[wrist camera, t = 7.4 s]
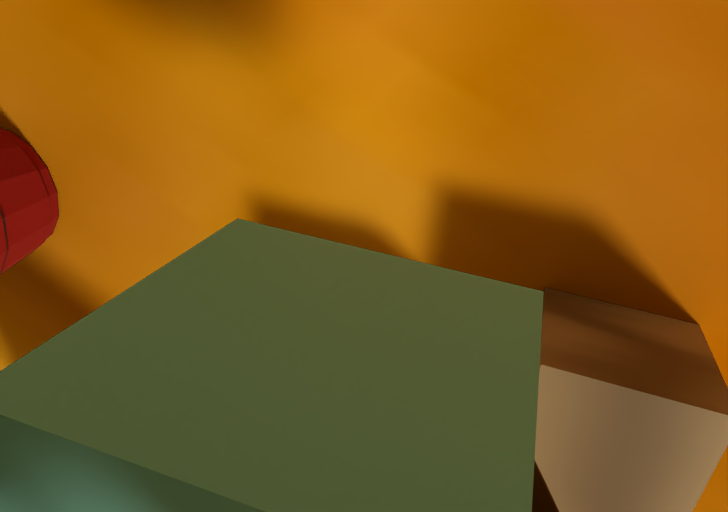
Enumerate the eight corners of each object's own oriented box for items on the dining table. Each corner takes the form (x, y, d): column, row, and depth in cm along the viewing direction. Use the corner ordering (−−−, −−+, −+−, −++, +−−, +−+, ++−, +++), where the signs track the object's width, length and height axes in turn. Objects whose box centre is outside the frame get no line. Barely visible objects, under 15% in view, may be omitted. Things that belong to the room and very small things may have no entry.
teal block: (233, 444, 12) (33, 709, 7) (237, 218, 9) (-42, 398, 5) (475, 527, 10) (415, 904, 6) (543, 291, 8) (526, 605, 4)
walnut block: (512, 398, 22) (500, 494, 18) (545, 286, 20) (541, 364, 15) (648, 437, 21) (672, 551, 16) (698, 323, 19) (741, 418, 14)
